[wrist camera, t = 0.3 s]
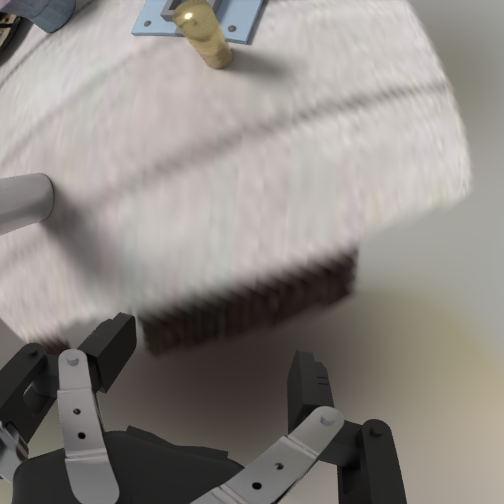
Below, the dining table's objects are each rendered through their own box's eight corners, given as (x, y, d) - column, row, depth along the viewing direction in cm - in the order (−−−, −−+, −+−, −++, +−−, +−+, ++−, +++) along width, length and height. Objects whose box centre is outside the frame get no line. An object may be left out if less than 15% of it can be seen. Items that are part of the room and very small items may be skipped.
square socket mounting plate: (134, 35, 32) (123, 27, 28) (159, -17, 28) (152, -27, 24) (246, 44, 32) (243, 33, 28) (268, -12, 28) (267, -24, 24)
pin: (201, 67, 33) (166, 27, 20) (210, 44, 32) (180, -2, 19) (228, 71, 33) (203, 29, 20) (236, 48, 32) (216, -1, 19)
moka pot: (92, -1, 28) (30, -38, 9) (40, 54, 32) (-29, 37, 13) (80, -16, 27) (25, -49, 8) (31, 35, 30) (-29, 18, 11)
